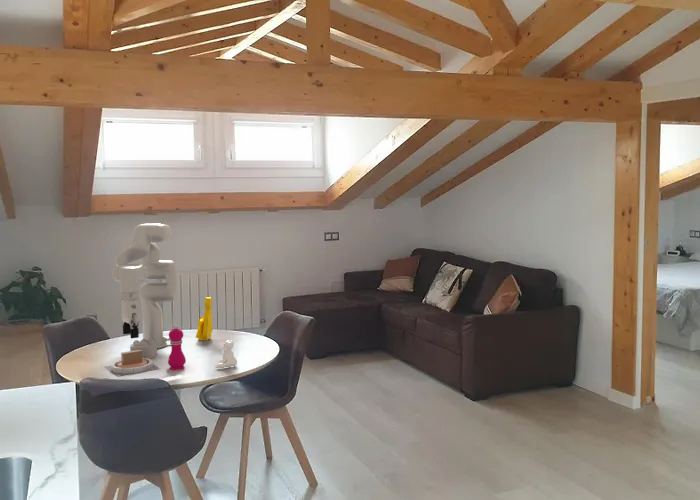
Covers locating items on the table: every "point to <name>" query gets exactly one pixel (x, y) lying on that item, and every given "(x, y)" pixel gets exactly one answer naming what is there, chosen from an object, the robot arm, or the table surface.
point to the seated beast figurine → (227, 356)
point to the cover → (131, 359)
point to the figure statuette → (205, 322)
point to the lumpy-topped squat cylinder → (145, 347)
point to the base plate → (129, 371)
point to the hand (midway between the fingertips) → (130, 335)
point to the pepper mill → (176, 350)
